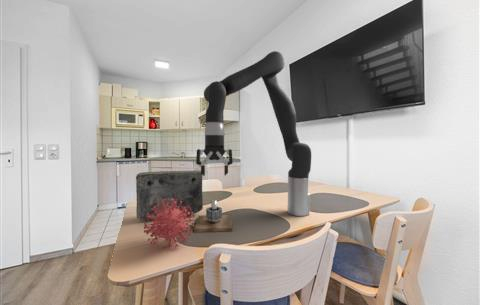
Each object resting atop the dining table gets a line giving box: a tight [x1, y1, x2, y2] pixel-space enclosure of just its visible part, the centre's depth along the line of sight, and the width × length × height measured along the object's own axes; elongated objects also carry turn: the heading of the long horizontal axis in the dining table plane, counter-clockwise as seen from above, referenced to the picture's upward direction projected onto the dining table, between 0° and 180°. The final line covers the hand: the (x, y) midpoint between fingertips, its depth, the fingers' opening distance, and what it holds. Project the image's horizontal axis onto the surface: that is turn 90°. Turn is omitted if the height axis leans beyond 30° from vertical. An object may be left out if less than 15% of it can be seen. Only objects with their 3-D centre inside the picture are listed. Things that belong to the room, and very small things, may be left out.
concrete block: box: [135, 169, 204, 220], centre depth 88 cm, size 27×9×20 cm, turn 110°
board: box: [193, 214, 233, 233], centre depth 81 cm, size 14×14×1 cm
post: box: [208, 199, 220, 224], centre depth 81 cm, size 5×5×8 cm
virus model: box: [143, 198, 195, 250], centre depth 63 cm, size 15×15×15 cm
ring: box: [205, 206, 223, 220], centre depth 81 cm, size 6×6×3 cm
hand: (214, 175), depth 80 cm, fingers open, 8 cm apart
